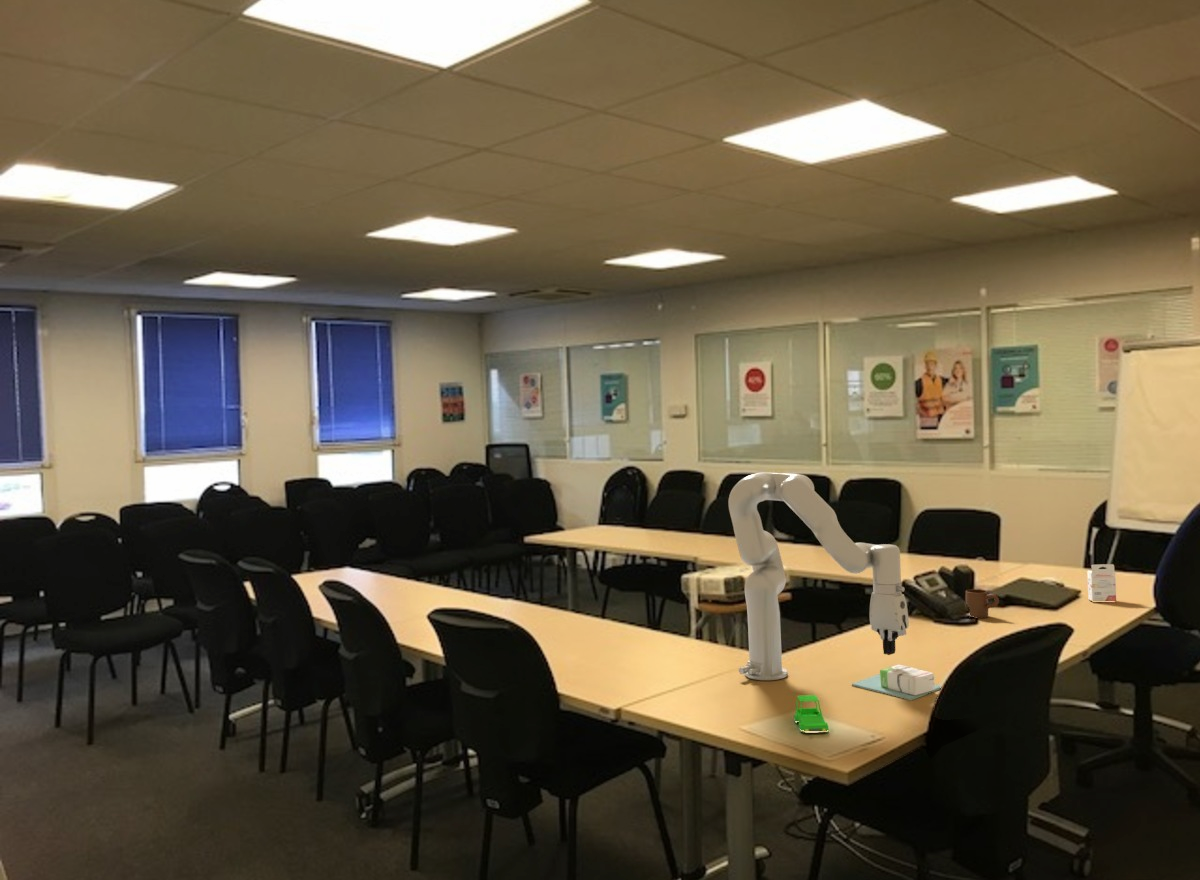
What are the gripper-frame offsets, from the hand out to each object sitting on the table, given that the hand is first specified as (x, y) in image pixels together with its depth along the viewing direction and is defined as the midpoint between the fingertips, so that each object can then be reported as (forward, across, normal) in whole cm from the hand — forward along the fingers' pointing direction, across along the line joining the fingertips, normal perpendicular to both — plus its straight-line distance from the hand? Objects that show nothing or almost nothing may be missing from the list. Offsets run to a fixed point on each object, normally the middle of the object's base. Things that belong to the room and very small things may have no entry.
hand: (889, 653), depth 260 cm
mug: (+9, +24, -92) cm, 96 cm away
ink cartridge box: (+9, +5, -144) cm, 144 cm away
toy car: (+10, -6, +42) cm, 43 cm away
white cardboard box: (+6, 0, 0) cm, 6 cm away
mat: (+9, -2, 0) cm, 9 cm away
